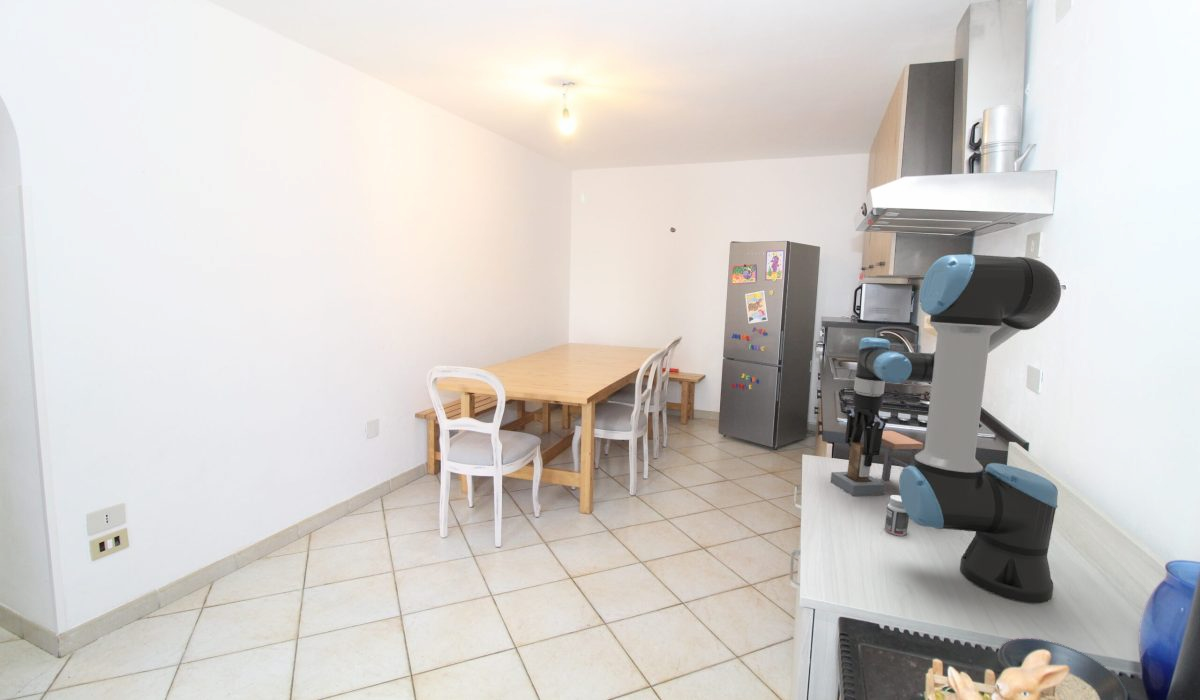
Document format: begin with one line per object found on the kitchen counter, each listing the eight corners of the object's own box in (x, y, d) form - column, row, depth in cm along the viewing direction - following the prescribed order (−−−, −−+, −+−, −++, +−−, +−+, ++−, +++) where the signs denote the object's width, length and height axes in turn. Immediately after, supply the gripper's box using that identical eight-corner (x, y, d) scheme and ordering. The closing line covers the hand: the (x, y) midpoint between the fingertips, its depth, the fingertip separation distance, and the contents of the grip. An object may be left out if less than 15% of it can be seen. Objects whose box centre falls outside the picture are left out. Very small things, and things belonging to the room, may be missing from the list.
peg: (867, 487, 155) (872, 446, 153) (855, 487, 154) (860, 446, 152) (858, 481, 159) (863, 441, 157) (846, 482, 158) (851, 442, 156)
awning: (916, 494, 154) (923, 443, 151) (888, 496, 152) (895, 444, 149) (886, 478, 165) (892, 430, 163) (859, 479, 163) (865, 431, 161)
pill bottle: (909, 531, 131) (913, 498, 129) (903, 538, 127) (908, 504, 126) (887, 524, 134) (892, 492, 133) (881, 530, 130) (886, 497, 129)
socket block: (884, 494, 153) (885, 484, 152) (852, 496, 151) (853, 485, 150) (860, 480, 162) (861, 471, 162) (830, 481, 160) (831, 472, 160)
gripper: (902, 400, 145) (891, 484, 148) (860, 386, 161) (850, 461, 165) (877, 400, 143) (866, 485, 147) (837, 386, 160) (828, 462, 163)
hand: (858, 472), depth 156 cm, fingers closed on peg, 4 cm apart
